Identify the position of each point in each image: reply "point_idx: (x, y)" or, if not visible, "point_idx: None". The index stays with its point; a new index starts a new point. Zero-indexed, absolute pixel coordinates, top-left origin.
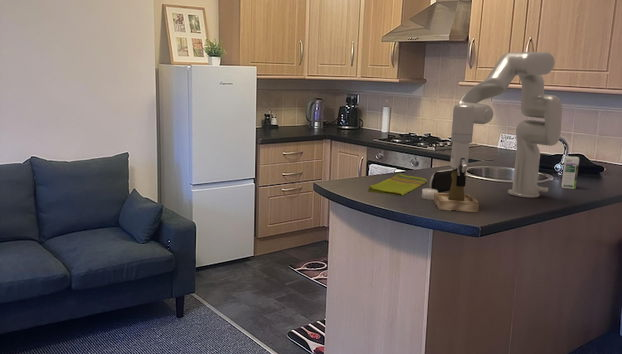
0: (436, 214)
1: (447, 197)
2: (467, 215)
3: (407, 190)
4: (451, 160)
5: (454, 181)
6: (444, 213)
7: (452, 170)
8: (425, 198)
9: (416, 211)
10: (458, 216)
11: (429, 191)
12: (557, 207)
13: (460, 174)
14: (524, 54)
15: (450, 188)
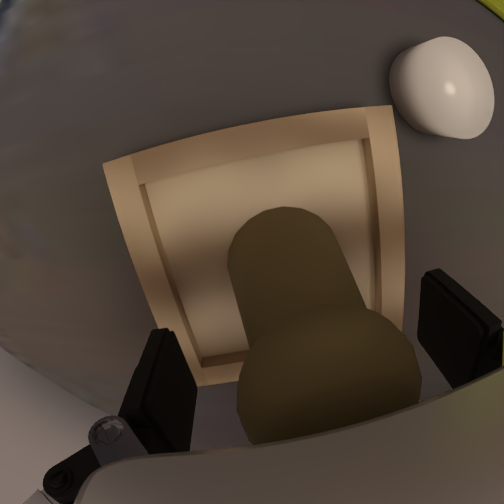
0: (27, 164)
1: (337, 201)
2: (93, 308)
3: (492, 1)
4: (497, 501)
5: (263, 322)
6: (63, 198)
7: (500, 325)
8: (396, 61)
9: (42, 56)
10: (50, 269)
11: (419, 74)
12: None
13: (89, 447)
14: None
15: (294, 247)
